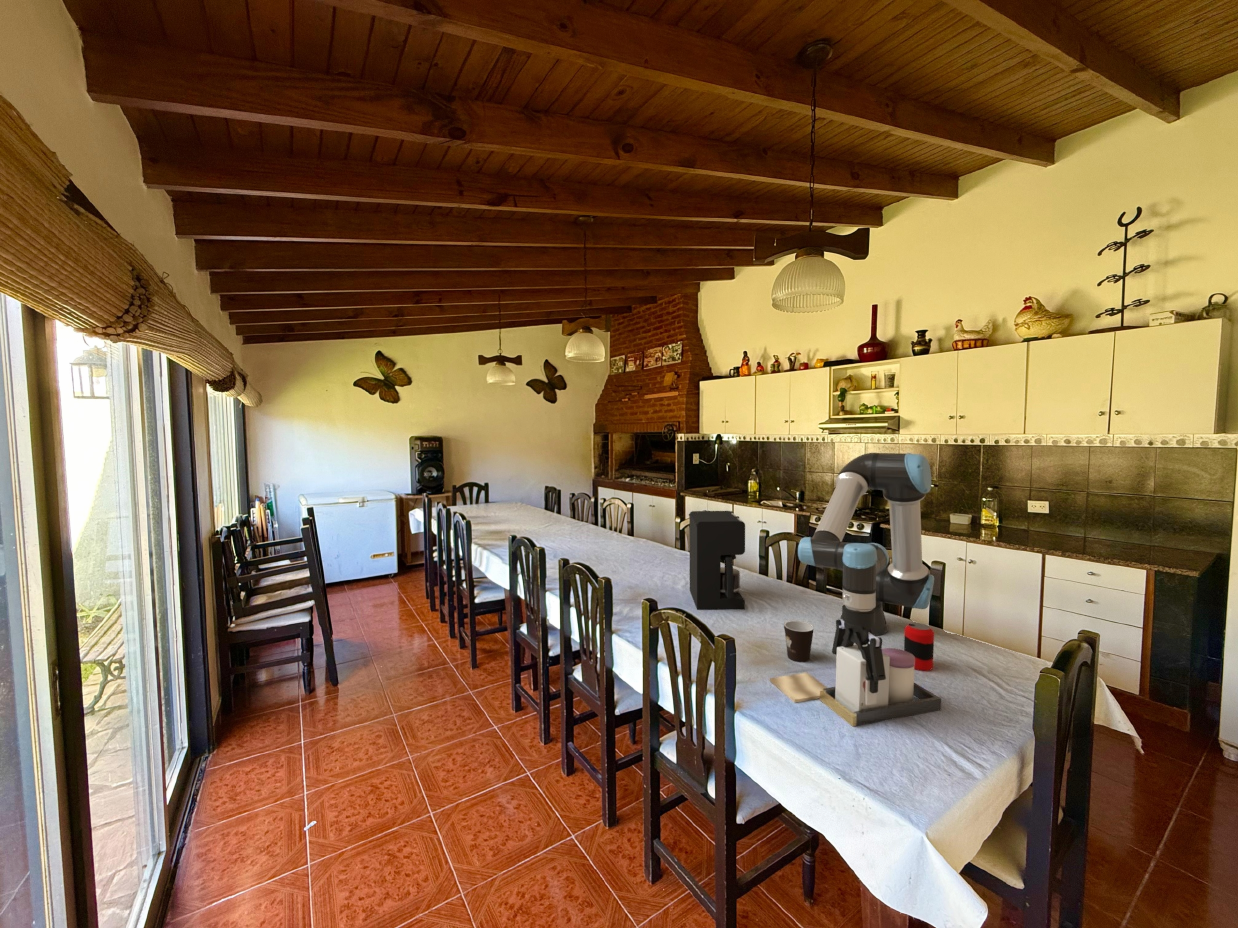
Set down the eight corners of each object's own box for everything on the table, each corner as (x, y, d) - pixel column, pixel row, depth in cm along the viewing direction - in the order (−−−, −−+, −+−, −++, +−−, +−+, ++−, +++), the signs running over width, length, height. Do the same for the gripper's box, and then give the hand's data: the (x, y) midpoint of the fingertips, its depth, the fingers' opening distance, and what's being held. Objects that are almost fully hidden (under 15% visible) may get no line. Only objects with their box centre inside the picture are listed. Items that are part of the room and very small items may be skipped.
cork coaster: (807, 675, 151) (807, 672, 151) (834, 695, 140) (834, 692, 140) (769, 680, 148) (769, 678, 148) (794, 702, 136) (794, 699, 136)
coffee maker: (749, 613, 200) (749, 522, 198) (697, 613, 201) (697, 522, 198) (733, 589, 228) (734, 510, 226) (688, 590, 229) (688, 510, 226)
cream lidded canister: (896, 691, 141) (897, 646, 140) (921, 707, 133) (922, 659, 132) (870, 696, 139) (871, 650, 138) (894, 712, 131) (895, 663, 130)
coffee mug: (815, 664, 157) (815, 632, 157) (785, 662, 159) (785, 630, 158) (809, 648, 169) (809, 618, 168) (781, 646, 171) (781, 616, 170)
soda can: (903, 657, 161) (904, 619, 160) (931, 662, 158) (933, 623, 157) (904, 668, 155) (905, 628, 154) (934, 673, 151) (935, 632, 150)
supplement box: (858, 721, 128) (860, 661, 127) (834, 702, 136) (835, 646, 135) (889, 715, 130) (891, 656, 129) (863, 697, 139) (864, 641, 138)
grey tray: (902, 685, 144) (902, 675, 144) (940, 709, 132) (941, 698, 132) (819, 700, 138) (820, 689, 137) (852, 726, 126) (853, 714, 125)
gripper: (818, 594, 140) (816, 676, 142) (878, 623, 120) (875, 719, 121) (842, 591, 142) (840, 672, 144) (905, 620, 121) (902, 714, 123)
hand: (856, 693), depth 133 cm, fingers closed on supplement box, 9 cm apart
